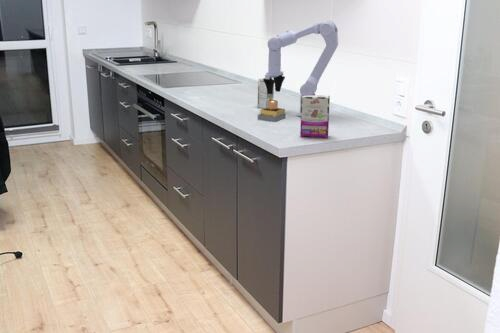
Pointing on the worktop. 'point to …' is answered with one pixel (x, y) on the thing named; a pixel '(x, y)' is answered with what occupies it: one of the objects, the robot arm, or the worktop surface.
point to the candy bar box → (314, 116)
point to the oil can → (272, 105)
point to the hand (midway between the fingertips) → (273, 92)
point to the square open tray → (271, 115)
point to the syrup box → (263, 94)
